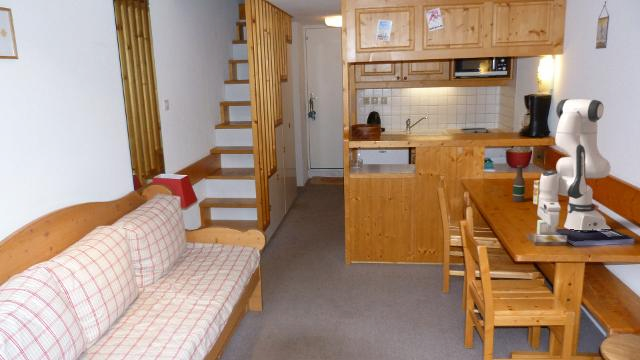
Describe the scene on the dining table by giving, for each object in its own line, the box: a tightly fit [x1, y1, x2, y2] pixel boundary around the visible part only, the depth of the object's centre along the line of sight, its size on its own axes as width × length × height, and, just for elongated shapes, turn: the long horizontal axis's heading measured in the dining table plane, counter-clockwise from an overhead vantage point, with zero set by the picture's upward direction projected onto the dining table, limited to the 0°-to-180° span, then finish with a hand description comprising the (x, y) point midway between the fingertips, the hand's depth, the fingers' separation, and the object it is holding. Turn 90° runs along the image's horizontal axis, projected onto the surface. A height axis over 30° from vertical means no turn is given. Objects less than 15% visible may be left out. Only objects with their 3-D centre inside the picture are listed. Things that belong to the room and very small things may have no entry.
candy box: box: [532, 179, 540, 206], centre depth 334 cm, size 9×4×15 cm, turn 107°
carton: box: [536, 219, 557, 235], centre depth 263 cm, size 4×8×7 cm, turn 85°
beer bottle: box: [512, 164, 526, 203], centre depth 341 cm, size 8×8×24 cm
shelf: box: [525, 232, 568, 247], centre depth 264 cm, size 15×14×5 cm
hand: (546, 229), depth 263 cm, fingers closed on carton, 4 cm apart
